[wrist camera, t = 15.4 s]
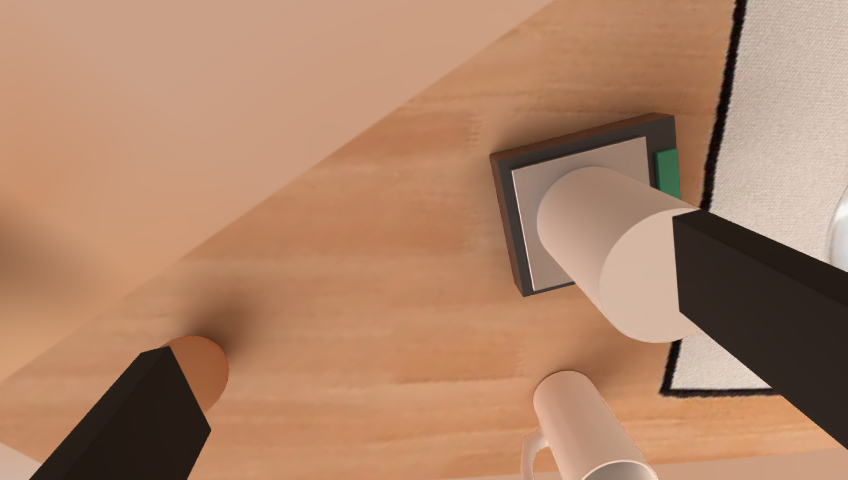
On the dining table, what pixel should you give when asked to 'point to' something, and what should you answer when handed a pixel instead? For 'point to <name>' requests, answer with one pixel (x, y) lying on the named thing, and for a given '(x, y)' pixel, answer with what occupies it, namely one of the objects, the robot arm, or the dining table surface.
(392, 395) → the dining table surface
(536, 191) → the scale pan
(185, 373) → the egg
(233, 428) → the dining table surface
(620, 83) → the dining table surface
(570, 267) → the white cylinder
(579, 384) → the mug
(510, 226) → the scale
